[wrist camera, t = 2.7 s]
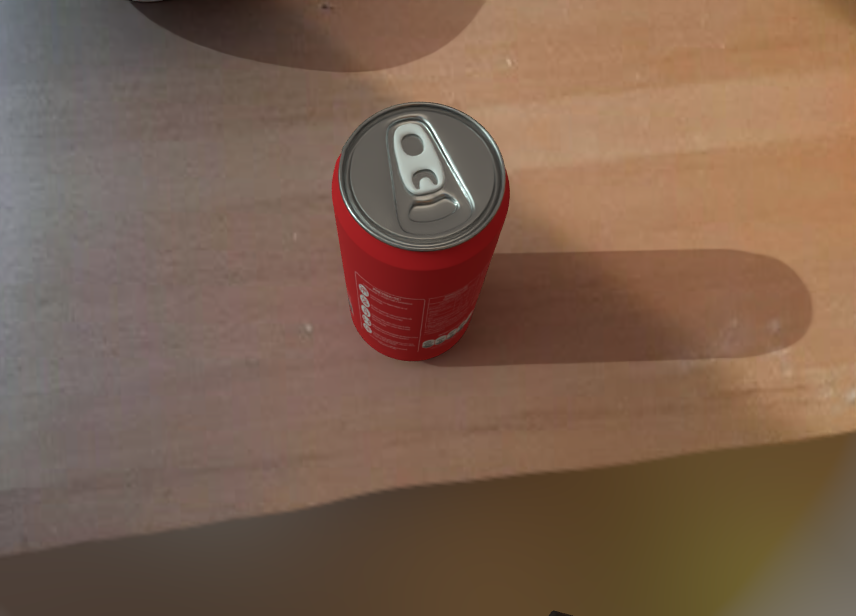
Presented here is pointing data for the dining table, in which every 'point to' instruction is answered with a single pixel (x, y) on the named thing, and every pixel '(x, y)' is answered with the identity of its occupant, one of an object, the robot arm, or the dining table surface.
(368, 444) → the dining table surface
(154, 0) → the chinaware
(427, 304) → the beverage can
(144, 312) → the dining table surface
